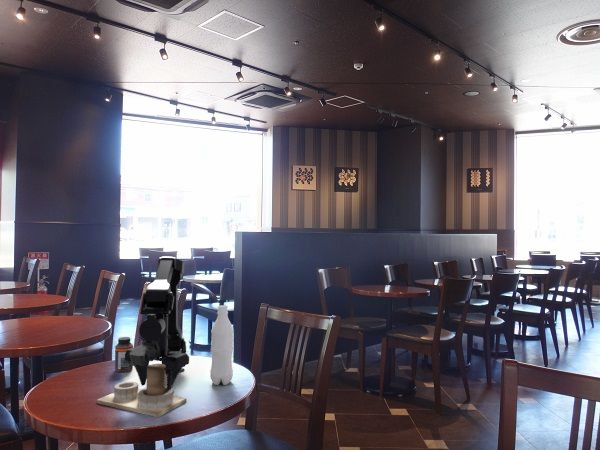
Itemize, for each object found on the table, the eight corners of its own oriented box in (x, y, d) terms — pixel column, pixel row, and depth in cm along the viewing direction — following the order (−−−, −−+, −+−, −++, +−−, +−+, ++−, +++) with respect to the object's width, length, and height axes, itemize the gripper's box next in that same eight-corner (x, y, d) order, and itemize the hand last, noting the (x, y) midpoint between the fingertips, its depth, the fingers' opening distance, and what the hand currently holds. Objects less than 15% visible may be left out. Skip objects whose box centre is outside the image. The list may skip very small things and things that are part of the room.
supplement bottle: (115, 368, 160) (116, 336, 160) (133, 367, 161) (133, 335, 162) (113, 373, 154) (114, 340, 154) (132, 372, 156) (133, 339, 156)
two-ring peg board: (128, 389, 138) (128, 376, 139) (186, 401, 130) (186, 387, 130) (96, 403, 128) (97, 389, 128) (157, 417, 119) (158, 402, 119)
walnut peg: (154, 397, 130) (155, 362, 130) (168, 400, 128) (169, 365, 128) (142, 403, 125) (143, 367, 125) (156, 406, 123) (157, 369, 123)
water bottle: (227, 387, 142) (229, 308, 142) (206, 385, 143) (208, 307, 144) (235, 380, 149) (236, 304, 149) (215, 378, 150) (216, 303, 151)
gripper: (110, 334, 123) (108, 391, 123) (164, 342, 116) (162, 403, 116) (139, 326, 133) (138, 379, 133) (190, 333, 126) (189, 389, 126)
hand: (156, 387), depth 127 cm, fingers open, 9 cm apart
